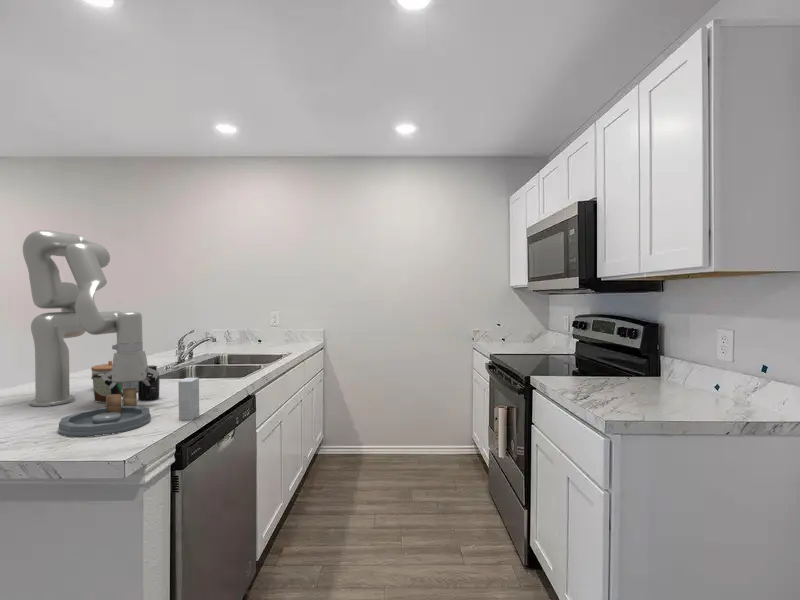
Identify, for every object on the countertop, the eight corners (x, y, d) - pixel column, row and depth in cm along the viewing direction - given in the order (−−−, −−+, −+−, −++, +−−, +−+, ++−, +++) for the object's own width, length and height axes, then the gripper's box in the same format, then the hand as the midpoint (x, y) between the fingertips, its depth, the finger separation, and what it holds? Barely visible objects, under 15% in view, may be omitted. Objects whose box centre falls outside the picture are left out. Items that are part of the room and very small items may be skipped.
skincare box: (185, 415, 144) (185, 377, 144) (199, 414, 144) (199, 377, 144) (178, 420, 138) (177, 381, 138) (192, 420, 138) (192, 381, 138)
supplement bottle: (150, 401, 161) (150, 368, 161) (133, 400, 162) (133, 367, 162) (163, 397, 168) (163, 365, 167) (147, 396, 169) (147, 364, 169)
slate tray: (42, 428, 129) (42, 419, 129) (124, 410, 149) (124, 402, 149) (84, 442, 118) (84, 431, 118) (167, 420, 138) (167, 411, 138)
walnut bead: (103, 415, 138) (103, 396, 138) (116, 412, 142) (116, 393, 142) (110, 417, 136) (110, 397, 136) (124, 414, 140) (124, 395, 140)
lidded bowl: (106, 392, 175) (106, 364, 174) (83, 390, 179) (83, 362, 179) (135, 386, 186) (135, 359, 186) (114, 384, 191) (113, 358, 191)
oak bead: (120, 406, 154) (120, 389, 154) (132, 404, 157) (132, 387, 157) (127, 408, 152) (127, 390, 152) (139, 405, 155) (139, 388, 155)
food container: (132, 400, 163) (132, 372, 163) (117, 404, 157) (116, 375, 157) (107, 397, 167) (107, 370, 167) (91, 401, 161) (91, 373, 161)
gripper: (96, 350, 148) (98, 402, 148) (155, 348, 153) (156, 398, 153) (105, 348, 155) (106, 397, 156) (160, 345, 160) (162, 393, 160)
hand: (131, 398), depth 154 cm, fingers open, 9 cm apart
